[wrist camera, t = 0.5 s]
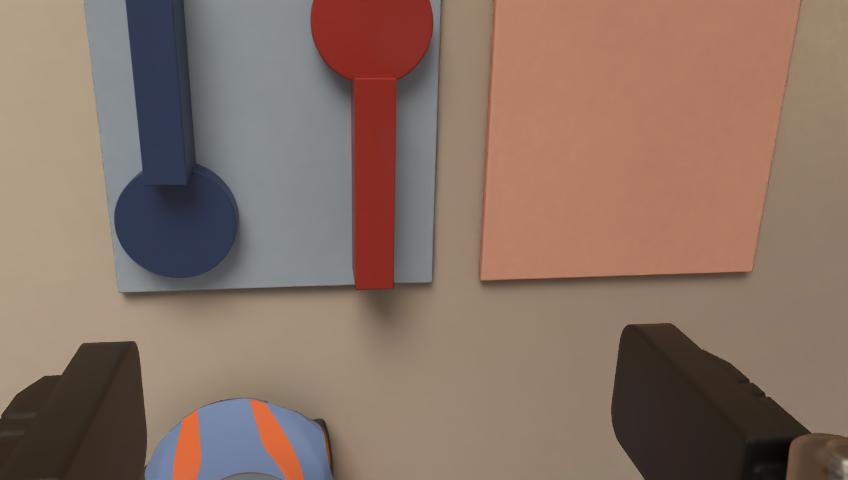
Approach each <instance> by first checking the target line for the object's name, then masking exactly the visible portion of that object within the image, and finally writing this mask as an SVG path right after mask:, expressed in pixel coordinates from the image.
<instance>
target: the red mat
mask: <svg viewBox="0 0 848 480" xmlns="http://www.w3.org/2000/svg"><path fill="white" fill-rule="evenodd" d="M800 4H801V0H494V2H493V21H492V39H491V58H490V77H489V95H488V114H487V132H486V151H485V170H484V188H483V207H482V225H481V244H480V263H479V278H480V280H510V279H540V278H570V277H600V276H629V275H659V274H689V273H719V272H748V271H752V267H753V261H754V256H755V251H756V245H757V240H758V234H759V229H760V223H761V218H762V212H763V207H764V201H765V196H766V190H767V185H768V179H769V174H770V169H771V163H772V158H773V152H774V147H775V141H776V136H777V130H778V125H779V119H780V114H781V108H782V103H783V97H784V92H785V87H786V81H787V76H788V70H789V65H790V59H791V54H792V48H793V43H794V37H795V32H796V26H797V21H798V15H799V10H800Z"/></svg>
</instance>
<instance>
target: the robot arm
mask: <svg viewBox="0 0 848 480" xmlns="http://www.w3.org/2000/svg"><path fill="white" fill-rule="evenodd" d="M611 415H612V424H613V428H614V432H615V435H616V438H617V440H618V442H619V443H620V445H621V446H622V448H623V449H624V450H625V452H626V453H627V455H628V456H629V458H630V459H631V460H632V462H633V463H634V465H635V466H636V467H637V469H638V470H639V472H640V473H641V475H642V476H643V477H644V479H645V480H848V437H843V436H839V435H833V434H823V433H813V434H812V433H811V432H810V431H808V430H807V429H806V428H805V427H804V426H803V425H801V424H800V423H799V422H798V421H797V420H796V419H794V418H793V417H792V416H791V415H790V414H789V413H787V412H786V411H785V410H784V409H783V408H782V407H780V406H779V405H778V404H777V403H776V402H775V401H774V400H772V399H771V398H770V397H765V393H764V392H763V391H762V390H761V389H760V388H758V387H757V386H756V385H755V384H754V383H750V382H749V379H748V378H747V377H746V376H744V375H743V374H742V373H741V372H740V371H739V370H738V369H736V368H735V367H734V366H733V365H732V364H731V363H729V362H727V361H725V360H723V359H721V358H719V357H717V356H715V355H713V354H711V353H709V352H707V351H705V350H703V349H702V350H701V349H700V348H699V347H698V346H697V345H696V344H695V343H694V342H692V341H691V340H690V339H689V338H688V337H687V336H686V335H685V334H683V333H682V332H681V331H680V330H679V329H678V328H677V327H676V326H674V325H673V324H671V323H660V324H632V325H627V326H626V327H625V328H624V329H623V331H622V334H621V338H620V344H619V351H618V359H617V367H616V374H615V382H614V390H613V397H612V406H611ZM146 449H147V429H146V418H145V408H144V398H143V387H142V377H141V367H140V357H139V351H138V347H137V345H136V343H135V342H134V341H127V342H99V343H83V344H82V345H81V346H80V347H79V349H78V351H77V352H76V354H75V355H74V357H73V358H72V360H71V361H70V363H69V364H68V366H67V367H66V369H65V371H64V372H63V374H62V375H56V376H44V377H42V378H41V379H39V380H38V381H36V382H35V383H33V384H32V385H30V386H29V387H27V388H26V389H24V390H23V391H21V392H20V393H18V394H17V395H16V396H15V397H14V399H13V400H12V401H11V403H10V404H9V406H8V407H7V408H6V410H5V411H4V412H3V414H2V415H1V419H0V480H140V478H141V475H142V472H143V469H144V465H145V459H146Z"/></svg>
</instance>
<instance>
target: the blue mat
mask: <svg viewBox="0 0 848 480" xmlns="http://www.w3.org/2000/svg"><path fill="white" fill-rule="evenodd" d="M312 3H313V0H184V14H185V27H186V40H187V53H188V66H189V79H190V92H191V105H192V118H193V131H194V145H195V158H196V164H199V165H201V166H204V167H206V168H208V169H209V170H211V171H213V172H214V173H215V174H217V175H218V176H219V177H220V178H221V179H222V180H223V181H224V182H225V183H226V184H227V186H228V187H229V188H230V190H231V192H232V193H233V195H234V198H235V200H236V203H237V207H238V213H239V224H238V230H237V233H236V236H235V240H234V243H233V245H232V247H231V250H230V251H229V253H228V254H227V256H226V257H225V258H224V259H223V260H222V261H221V262H220V263H219V264H218V265H217V266H215V267H214V268H212V269H211V270H209V271H207V272H205V273H203V274H200V275H197V276H193V277H187V278H171V277H165V276H161V275H157V274H155V273H152V272H150V271H148V270H146V269H144V268H143V267H141V266H140V265H138V264H137V263H136V262H135V261H133V260H132V259H131V258H130V257H129V255H128V254H127V253H126V252H125V250H124V249H123V247H122V246H121V244H120V242H119V240H118V237H117V234H116V231H115V226H114V212H115V207H116V203H117V200H118V198H119V196H120V194H121V192H122V191H123V189H124V188H125V187H126V186H127V184H128V183H129V182H130V181H131V180H132V179H133V178H134V177H135V176H136V175H137V174H138V173H139V172H141V171H142V161H141V151H140V141H139V131H138V121H137V111H136V102H135V92H134V82H133V72H132V62H131V52H130V42H129V32H128V22H127V12H126V2H125V0H84V5H85V14H86V22H87V31H88V39H89V48H90V56H91V65H92V73H93V81H94V90H95V98H96V107H97V115H98V124H99V132H100V141H101V149H102V158H103V166H104V175H105V183H106V192H107V200H108V208H109V217H110V225H111V234H112V242H113V251H114V259H115V268H116V276H117V285H118V292H119V293H124V292H154V291H183V290H213V289H243V288H273V287H302V286H332V285H355V282H354V276H353V270H352V158H351V81H349V80H347V79H345V78H343V77H342V76H340V75H339V74H337V73H336V72H335V71H333V70H332V69H331V68H330V67H329V66H328V65H327V64H326V62H325V61H324V60H323V58H322V57H321V55H320V54H319V52H318V50H317V48H316V46H315V43H314V40H313V37H312V32H311V24H310V15H311V7H312ZM430 3H431V7H432V12H433V33H432V38H431V42H430V44H429V47H428V50H427V52H426V53H425V55H424V57H423V58H422V60H421V61H420V63H419V64H418V65H417V66H416V67H415V68H414V69H413V70H412V71H411V72H410V73H408V74H407V75H405V76H404V77H402V78H400V79H398V80H397V86H396V160H395V234H394V283H421V282H432V261H433V230H434V198H435V166H436V135H437V103H438V71H439V40H440V8H441V0H430Z"/></svg>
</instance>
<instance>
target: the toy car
mask: <svg viewBox="0 0 848 480" xmlns="http://www.w3.org/2000/svg"><path fill="white" fill-rule="evenodd" d="M140 480H334V479H333V462H332V453H331V446H330V440H329V435H328V430H327V426H326V423H325V421H324V420H323V419H315V420H311V419H308V418H307V417H305V416H303V415H302V414H300V413H298V412H297V411H291V410H288V409H285V408H283V407H280V406H277V405H273V404H269V403H268V401H263V400H258V399H253V398H238V399H227V400H224V401H223V400H221V401H218V402H214V403H212V404H209V405H206V406H204V407H201V408H198V409H197V410H195V411H194V412H192V413H191V414H189V415H188V416H186V417H185V418H183V420H182V421H181V422H180V423H179V424H178V425H177V426H176V427H174V428H173V429H172V430H171V431H170V432H169V433H168V434H167V435H166V436H165V437H164V438H163V439H162V440H161V441H160V443H159V444H158V446H157V448H156V450H155V452H154V454H153V456H152V458H151V459H150V461H149V463H148V464H147V465H146V466H145V467H144V469H143V472H142V475H141V478H140Z"/></svg>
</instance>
